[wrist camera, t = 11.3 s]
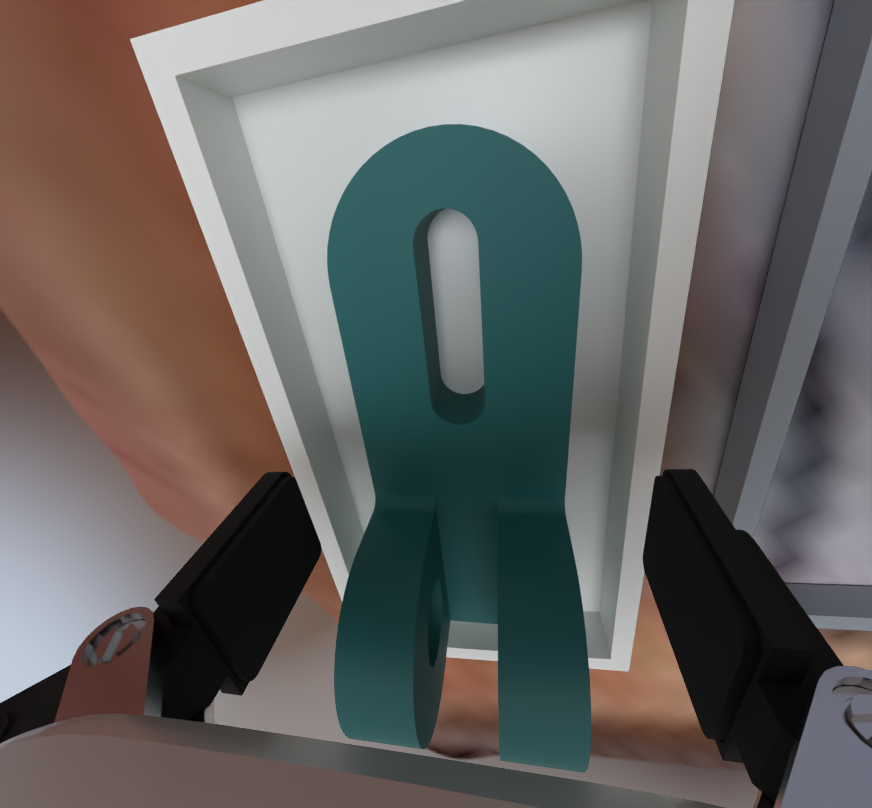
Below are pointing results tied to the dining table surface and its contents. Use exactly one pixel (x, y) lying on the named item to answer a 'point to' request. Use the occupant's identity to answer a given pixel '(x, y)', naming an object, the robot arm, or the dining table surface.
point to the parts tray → (457, 224)
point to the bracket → (462, 446)
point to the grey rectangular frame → (806, 291)
